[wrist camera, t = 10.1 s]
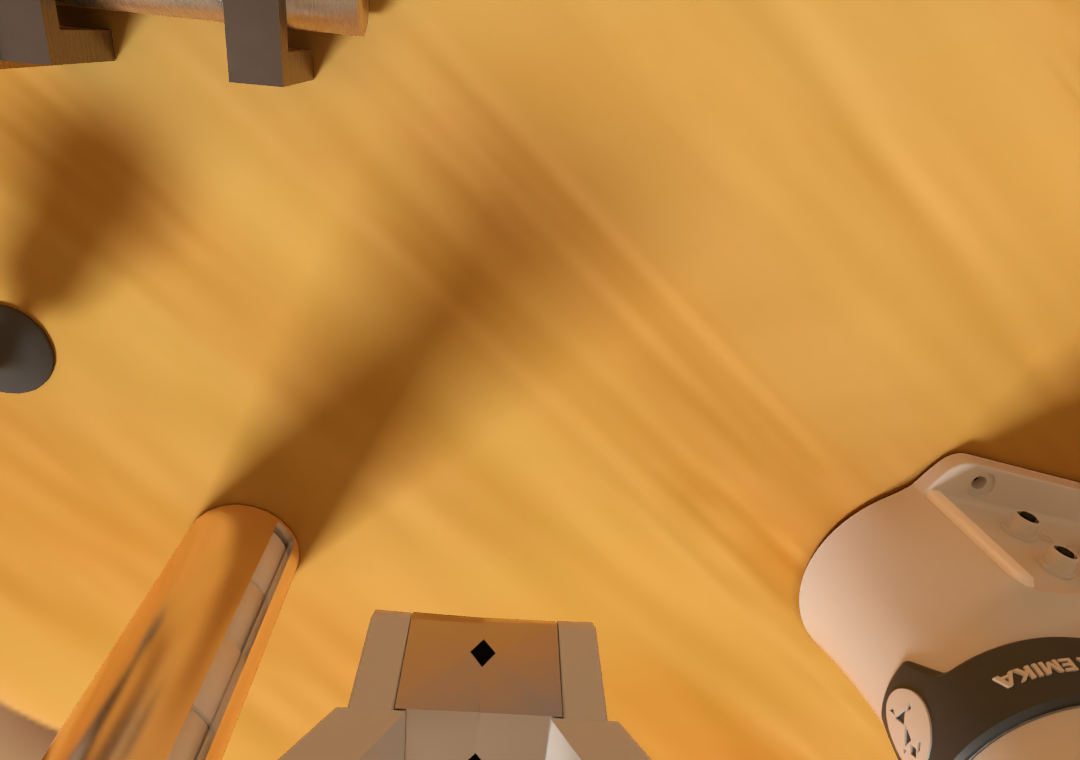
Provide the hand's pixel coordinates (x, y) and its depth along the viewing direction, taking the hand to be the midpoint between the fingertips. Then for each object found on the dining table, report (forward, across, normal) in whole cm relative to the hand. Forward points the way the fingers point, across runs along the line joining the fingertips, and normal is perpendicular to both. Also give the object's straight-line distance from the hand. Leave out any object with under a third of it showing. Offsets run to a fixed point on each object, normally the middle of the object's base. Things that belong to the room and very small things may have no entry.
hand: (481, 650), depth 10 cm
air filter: (+28, +14, +21) cm, 38 cm away
